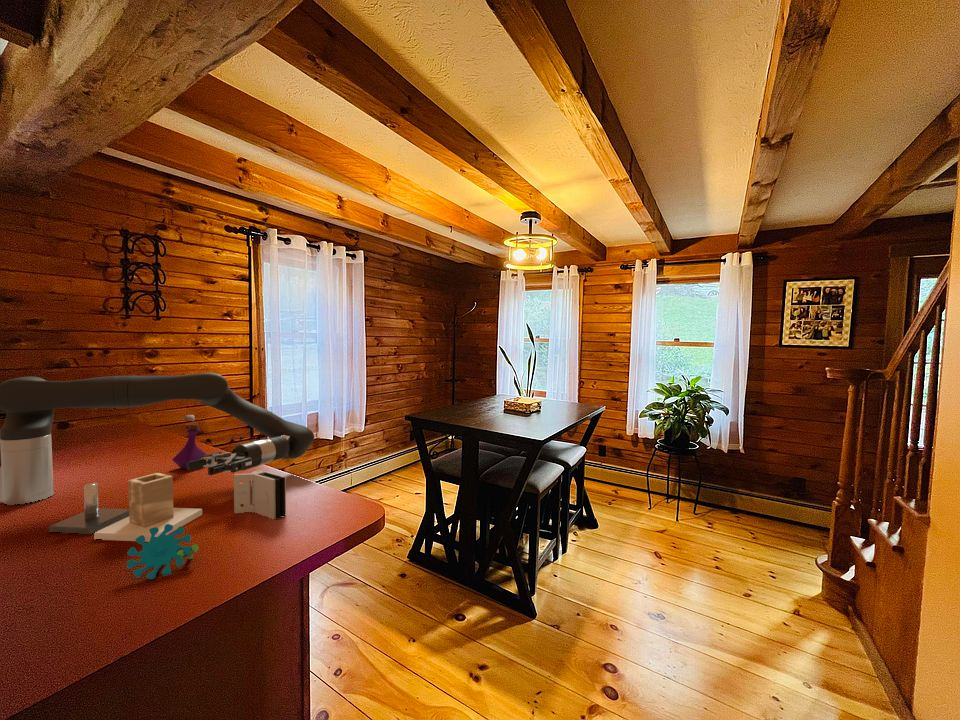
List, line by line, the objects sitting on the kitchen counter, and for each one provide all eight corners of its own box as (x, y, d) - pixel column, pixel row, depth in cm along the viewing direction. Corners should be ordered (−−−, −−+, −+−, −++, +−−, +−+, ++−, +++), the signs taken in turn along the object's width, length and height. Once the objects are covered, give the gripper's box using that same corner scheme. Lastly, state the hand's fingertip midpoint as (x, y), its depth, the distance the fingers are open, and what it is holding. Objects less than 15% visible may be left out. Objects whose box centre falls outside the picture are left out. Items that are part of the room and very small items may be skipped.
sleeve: (129, 522, 95) (128, 480, 94) (158, 512, 100) (157, 472, 100) (144, 527, 92) (143, 484, 92) (173, 517, 98) (172, 476, 97)
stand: (49, 532, 92) (47, 491, 92) (93, 513, 102) (92, 476, 102) (90, 534, 92) (89, 493, 91) (131, 515, 102) (130, 477, 101)
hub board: (94, 539, 90) (93, 506, 89) (149, 512, 104) (148, 483, 103) (154, 542, 89) (154, 508, 88) (202, 514, 103) (201, 485, 102)
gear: (114, 578, 73) (138, 522, 79) (122, 588, 77) (144, 534, 83) (187, 576, 76) (204, 522, 83) (191, 585, 80) (207, 533, 87)
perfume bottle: (209, 465, 142) (208, 414, 141) (187, 471, 135) (186, 417, 134) (193, 462, 144) (192, 412, 143) (171, 469, 137) (170, 416, 136)
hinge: (233, 513, 104) (232, 474, 103) (250, 505, 109) (249, 468, 109) (277, 520, 100) (277, 480, 100) (293, 512, 105) (293, 473, 105)
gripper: (238, 438, 124) (181, 451, 109) (271, 444, 118) (216, 458, 103) (238, 462, 124) (181, 478, 109) (271, 470, 119) (216, 487, 104)
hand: (198, 468), depth 106 cm, fingers open, 8 cm apart
